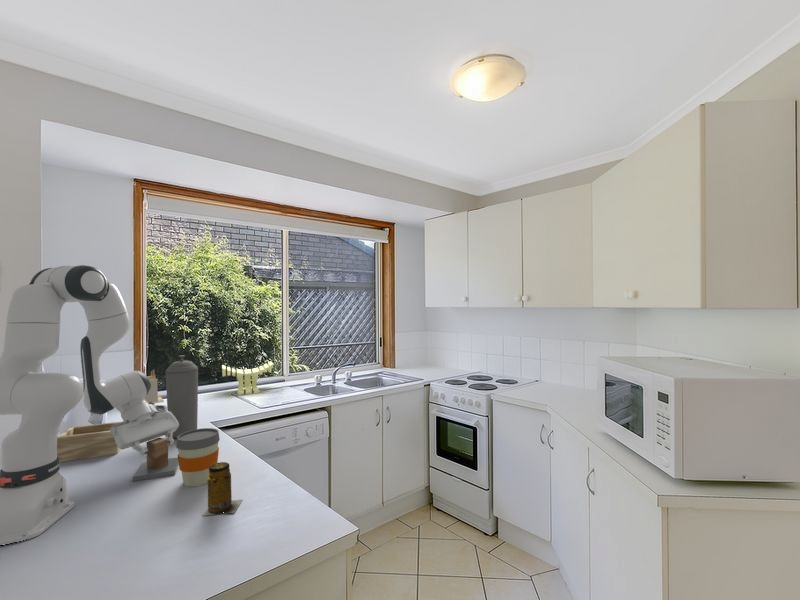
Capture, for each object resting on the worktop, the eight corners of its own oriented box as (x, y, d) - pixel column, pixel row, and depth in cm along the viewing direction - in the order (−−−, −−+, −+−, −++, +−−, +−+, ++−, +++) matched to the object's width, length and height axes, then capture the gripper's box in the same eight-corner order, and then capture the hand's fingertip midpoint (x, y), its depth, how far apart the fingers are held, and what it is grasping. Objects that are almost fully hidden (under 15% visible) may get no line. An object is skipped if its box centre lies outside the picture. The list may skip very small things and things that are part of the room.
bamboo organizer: (117, 453, 150) (116, 430, 150) (57, 462, 143) (56, 437, 143) (126, 442, 162) (126, 420, 162) (71, 449, 155) (71, 427, 155)
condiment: (212, 502, 112) (211, 461, 112) (242, 500, 113) (241, 459, 113) (201, 516, 105) (201, 472, 105) (234, 514, 106) (233, 470, 106)
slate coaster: (175, 474, 131) (174, 470, 131) (132, 481, 126) (132, 476, 126) (180, 461, 142) (180, 457, 142) (141, 467, 137) (141, 462, 137)
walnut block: (168, 464, 135) (167, 439, 135) (155, 470, 131) (155, 443, 131) (159, 462, 137) (159, 437, 137) (146, 468, 133) (146, 441, 133)
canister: (205, 432, 173) (204, 354, 173) (179, 441, 162) (177, 358, 162) (186, 428, 179) (185, 352, 179) (159, 437, 167) (158, 356, 167)
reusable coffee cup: (178, 493, 117) (177, 444, 117) (175, 478, 128) (174, 432, 128) (223, 482, 124) (222, 435, 124) (217, 468, 135) (216, 425, 135)
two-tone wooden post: (145, 426, 184) (144, 372, 184) (142, 420, 194) (142, 369, 194) (164, 422, 189) (163, 370, 189) (161, 417, 198) (160, 367, 198)
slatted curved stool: (271, 386, 264) (270, 360, 264) (273, 391, 250) (273, 363, 250) (222, 391, 252) (222, 364, 252) (222, 396, 238) (222, 367, 238)
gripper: (112, 420, 127) (131, 453, 123) (170, 404, 146) (189, 433, 142) (103, 432, 129) (123, 465, 125) (162, 414, 147) (180, 443, 144)
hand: (158, 448), depth 134 cm, fingers open, 8 cm apart
